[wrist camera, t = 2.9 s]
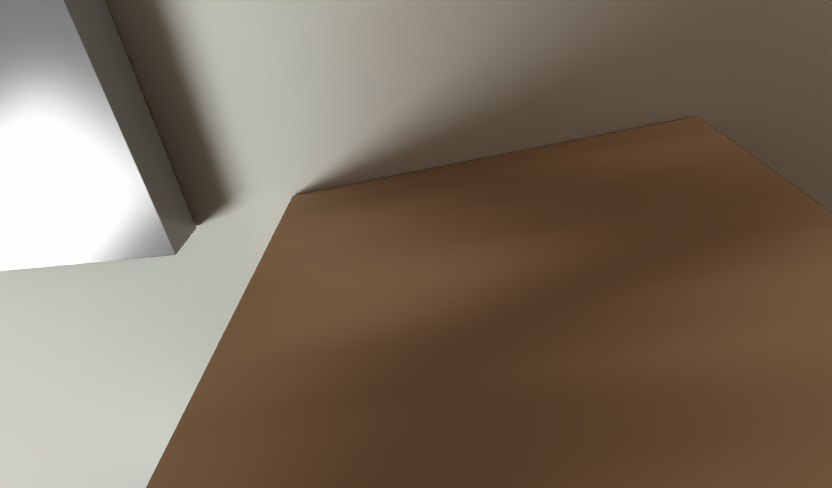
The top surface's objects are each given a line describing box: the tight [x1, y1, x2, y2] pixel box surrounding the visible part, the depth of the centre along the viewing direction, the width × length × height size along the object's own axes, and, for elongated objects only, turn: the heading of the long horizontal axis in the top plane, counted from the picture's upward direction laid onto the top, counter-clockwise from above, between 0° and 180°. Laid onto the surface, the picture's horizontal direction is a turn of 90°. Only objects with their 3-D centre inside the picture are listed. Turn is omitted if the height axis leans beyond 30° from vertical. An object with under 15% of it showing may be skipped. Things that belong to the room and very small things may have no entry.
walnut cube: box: [146, 116, 832, 488], centre depth 7 cm, size 6×6×6 cm
